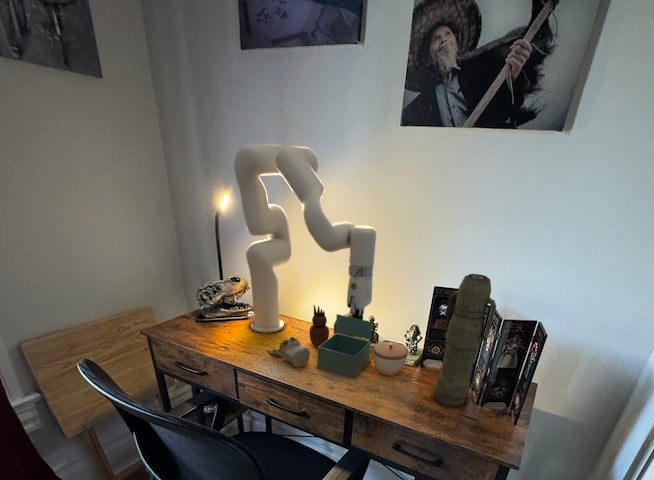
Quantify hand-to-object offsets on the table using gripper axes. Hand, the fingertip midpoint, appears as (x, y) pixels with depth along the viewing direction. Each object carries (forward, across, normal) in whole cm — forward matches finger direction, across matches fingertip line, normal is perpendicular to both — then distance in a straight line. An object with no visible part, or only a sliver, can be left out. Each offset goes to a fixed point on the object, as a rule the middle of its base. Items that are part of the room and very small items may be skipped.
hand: (356, 326), depth 125 cm
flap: (-1, -3, 0) cm, 3 cm away
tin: (+11, +13, +9) cm, 19 cm away
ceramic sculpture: (+10, -15, +16) cm, 24 cm away
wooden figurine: (+10, 0, +14) cm, 18 cm away
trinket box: (+11, -5, -14) cm, 18 cm away
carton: (+10, -9, 0) cm, 13 cm away
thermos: (+11, -11, -35) cm, 38 cm away
